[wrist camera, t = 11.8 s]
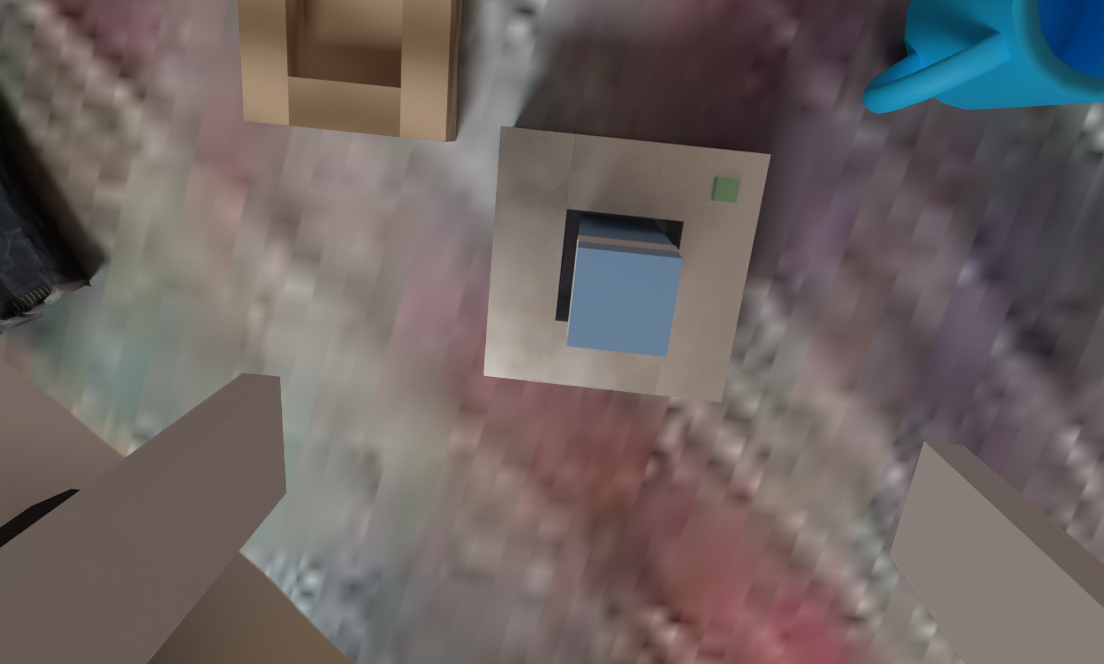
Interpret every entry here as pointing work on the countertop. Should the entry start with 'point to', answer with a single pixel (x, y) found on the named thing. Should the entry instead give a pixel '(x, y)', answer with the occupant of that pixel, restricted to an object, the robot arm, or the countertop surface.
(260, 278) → the countertop surface
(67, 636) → the robot arm
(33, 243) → the electronic device
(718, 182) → the port block
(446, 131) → the tan flat square frame
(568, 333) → the plug
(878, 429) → the countertop surface
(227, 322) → the countertop surface
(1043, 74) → the mug
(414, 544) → the countertop surface
